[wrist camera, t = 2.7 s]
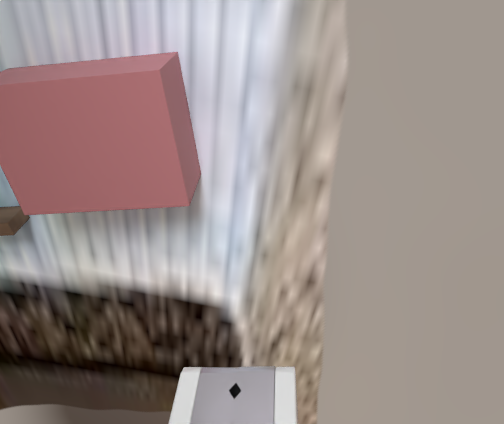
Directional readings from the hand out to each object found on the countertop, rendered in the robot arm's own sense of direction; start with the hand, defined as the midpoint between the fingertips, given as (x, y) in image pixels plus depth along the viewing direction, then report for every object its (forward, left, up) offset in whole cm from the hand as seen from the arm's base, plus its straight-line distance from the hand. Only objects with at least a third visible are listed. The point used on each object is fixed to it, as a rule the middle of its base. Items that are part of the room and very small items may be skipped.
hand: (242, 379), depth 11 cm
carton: (0, -12, -21) cm, 24 cm away
